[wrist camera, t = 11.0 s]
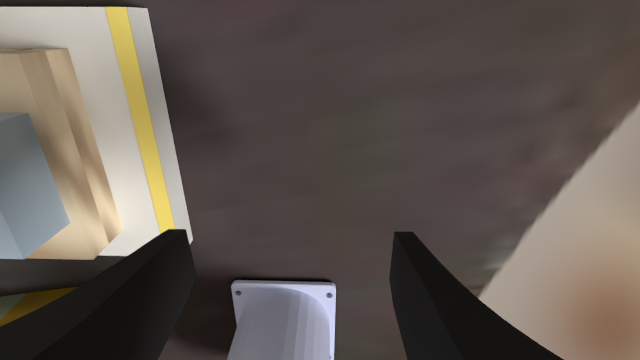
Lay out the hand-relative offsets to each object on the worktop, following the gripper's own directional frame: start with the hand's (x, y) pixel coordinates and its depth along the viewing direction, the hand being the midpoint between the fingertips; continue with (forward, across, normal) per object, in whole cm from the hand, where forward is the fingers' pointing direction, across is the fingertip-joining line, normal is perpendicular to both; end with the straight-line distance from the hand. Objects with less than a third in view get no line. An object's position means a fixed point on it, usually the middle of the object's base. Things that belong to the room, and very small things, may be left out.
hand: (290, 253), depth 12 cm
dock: (+10, +15, 0) cm, 18 cm away
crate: (+5, +14, 0) cm, 15 cm away
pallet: (+8, +15, 0) cm, 17 cm away
